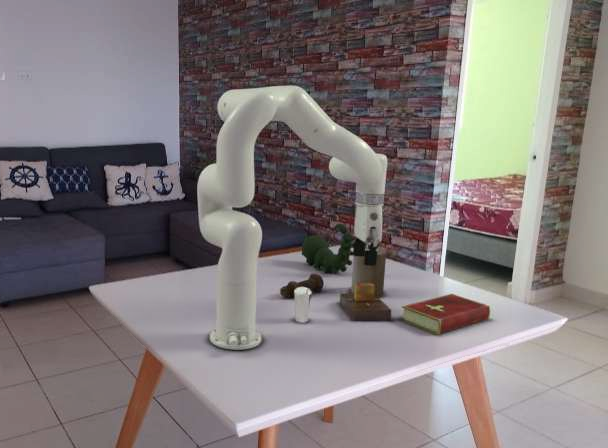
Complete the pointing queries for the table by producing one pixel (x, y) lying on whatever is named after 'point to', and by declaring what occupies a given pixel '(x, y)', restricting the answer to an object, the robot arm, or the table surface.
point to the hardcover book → (445, 313)
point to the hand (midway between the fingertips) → (364, 260)
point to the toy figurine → (328, 251)
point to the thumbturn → (364, 292)
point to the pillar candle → (370, 272)
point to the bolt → (303, 285)
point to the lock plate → (365, 308)
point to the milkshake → (302, 304)
